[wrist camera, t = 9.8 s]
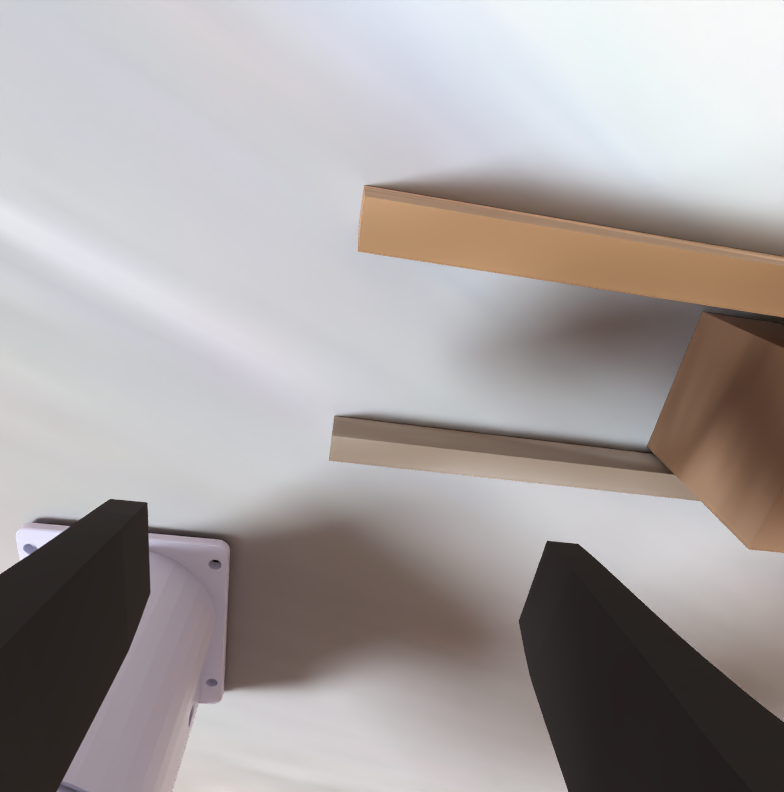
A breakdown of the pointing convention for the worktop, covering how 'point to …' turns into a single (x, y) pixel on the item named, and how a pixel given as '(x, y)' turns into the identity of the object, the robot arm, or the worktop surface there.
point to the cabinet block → (730, 426)
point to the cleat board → (558, 262)
